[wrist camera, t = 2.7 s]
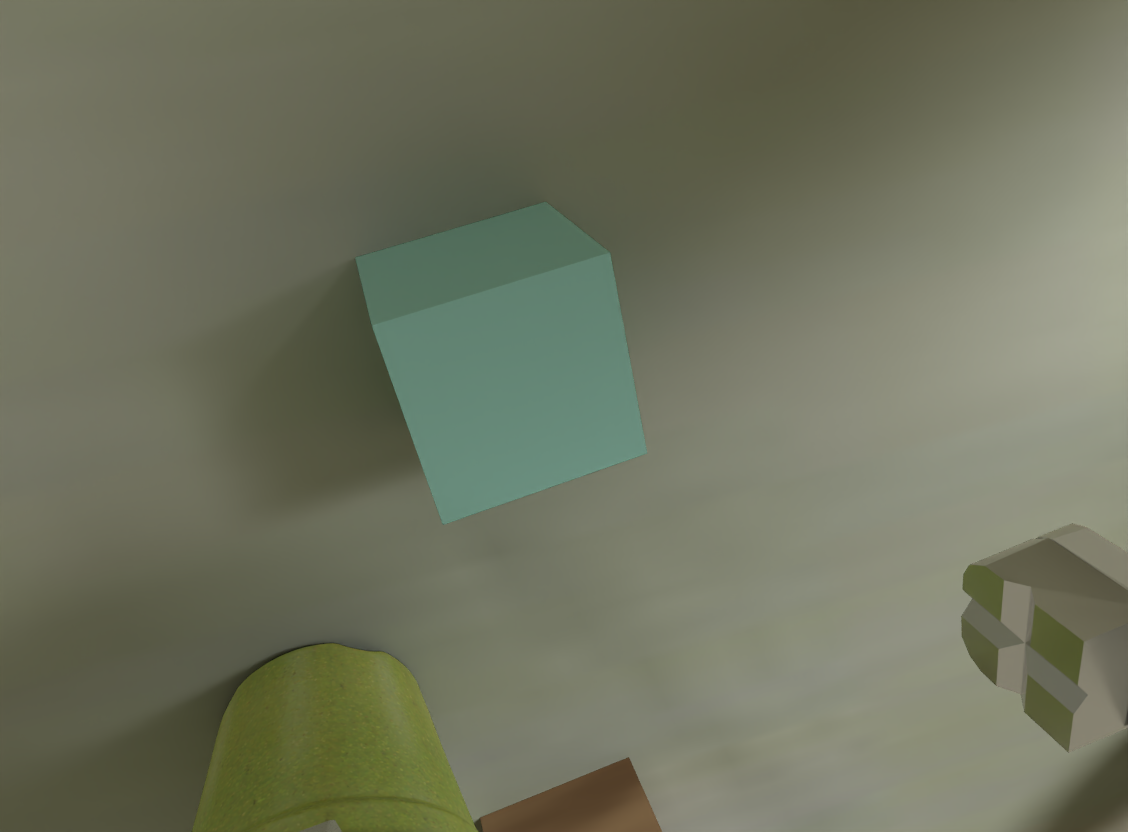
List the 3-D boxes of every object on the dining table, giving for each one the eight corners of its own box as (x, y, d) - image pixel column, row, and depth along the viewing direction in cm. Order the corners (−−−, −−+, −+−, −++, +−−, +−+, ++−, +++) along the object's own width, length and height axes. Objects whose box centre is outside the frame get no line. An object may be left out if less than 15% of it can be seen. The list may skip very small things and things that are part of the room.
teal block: (354, 256, 20) (371, 325, 16) (544, 201, 21) (610, 252, 17) (414, 426, 23) (442, 525, 18) (582, 370, 23) (647, 453, 19)
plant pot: (398, 543, 24) (446, 785, 17) (512, 733, 29) (589, 986, 21) (97, 686, 23) (5, 1008, 16) (265, 857, 28) (256, 1165, 21)
